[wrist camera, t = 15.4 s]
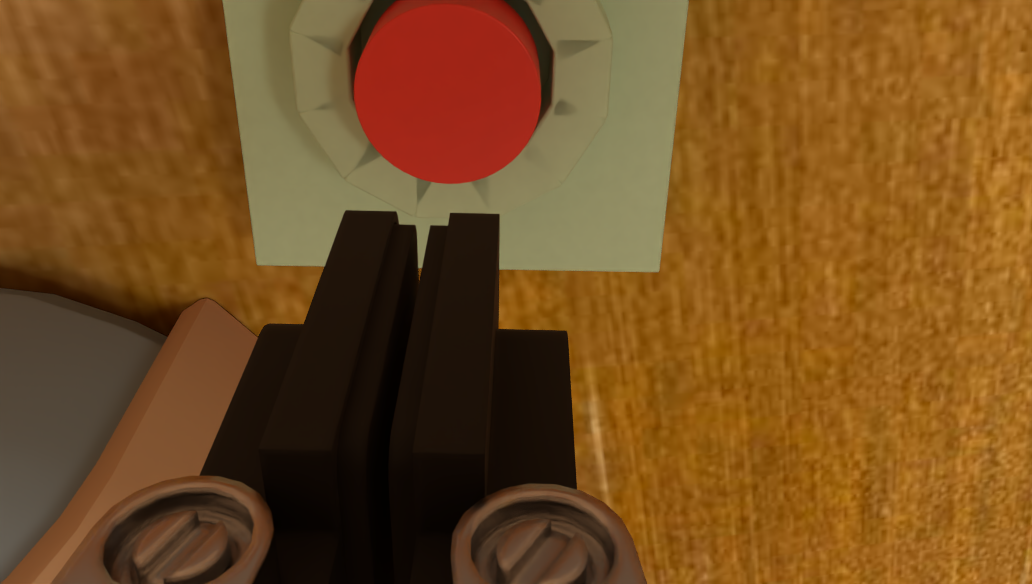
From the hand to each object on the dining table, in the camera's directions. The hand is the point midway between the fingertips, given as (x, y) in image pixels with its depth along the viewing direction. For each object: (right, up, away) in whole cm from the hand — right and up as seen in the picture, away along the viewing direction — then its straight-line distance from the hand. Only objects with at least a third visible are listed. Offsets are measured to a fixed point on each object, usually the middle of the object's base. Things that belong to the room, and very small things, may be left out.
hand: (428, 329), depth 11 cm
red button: (0, +5, +9) cm, 11 cm away
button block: (0, +7, +12) cm, 14 cm away
